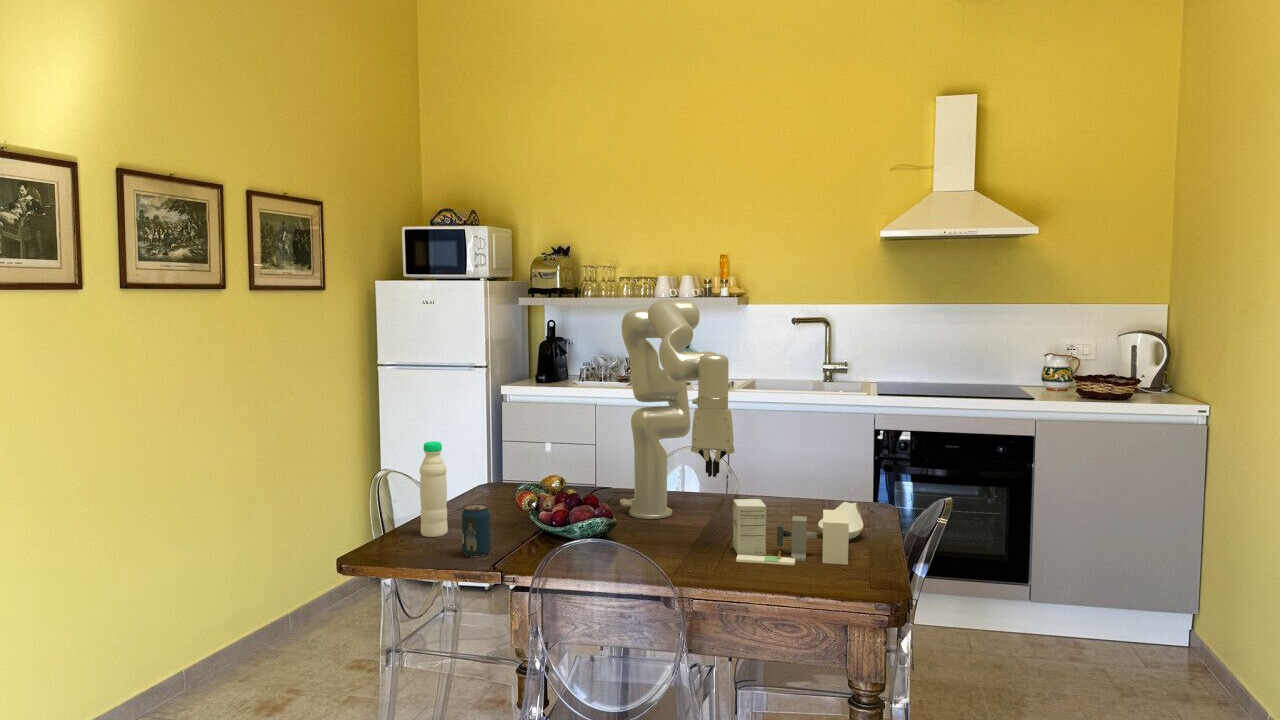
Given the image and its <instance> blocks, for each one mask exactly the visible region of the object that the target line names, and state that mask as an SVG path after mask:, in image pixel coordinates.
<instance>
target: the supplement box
mask: <svg viewBox="0 0 1280 720" xmlns="http://www.w3.org/2000/svg"><path fill="white" fill-rule="evenodd" d="M732 511H733V519H732V521H733V523H732V526H733V527H732V528H733V529H732V531H733V532H732V533H733V535H732V539H733V540H732V548H733V549H734V550H735V552H736V555H754V556H767V505H766V504H765V503H764V501H763V500H762V499H760V498H746V499H745V498H744V499H743V498H739V499H733V510H732Z"/></svg>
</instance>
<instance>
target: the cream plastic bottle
mask: <svg viewBox="0 0 1280 720" xmlns="http://www.w3.org/2000/svg"><path fill="white" fill-rule="evenodd" d="M442 449H443V446H442V442H440V441H435V440H433V441H427V442H424V443H423V451H424V452H423V453H424V454H425V456H424V458H423V460H422V463H421V465H420V467H419V474H420V478H419V479H420V481H419V496H420V507H421V508H420V521H421V522H420V534H421V535H422V536H423V537H426V538H438V537H443V536H445V535H447V533H448V530H449V529H448V528H449V527H448V520H447V519H448V508H447V505H448V504H447V502H448V486H447V485H448V484H447V466H446V464H445V461H444V459H443V458H442V456H441V452H442Z"/></svg>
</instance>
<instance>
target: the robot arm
mask: <svg viewBox="0 0 1280 720" xmlns="http://www.w3.org/2000/svg"><path fill="white" fill-rule="evenodd" d="M700 319H701V318H700V310H699V308H698V306H697V305H696V303H695V302H694V301H692V300H690V299H660V300H657V301H654V302H653V303H652V304H650V306H649V308H639V309H632V310H630V311H628V312H626V313H625V314H624V315H623V317H622V320H621V335H622V340H623V343H624V345H625V348H626V352H627V354H628V357H629V358H628V359H629V368H630V375H631V376H630V377H631V386H632V392H633V395H634V396H633V397H634V398H635V399H636V401H638V402H641V403H661V402H662V403H663V402H665V403H666V402H667V403H668V405H662V406H661V405H659V406H658V405H657V406H645V407H640V408H637V409H636V410H634V412H632V415H631V419H630V425H631V432H632V437H633V449H634V452H633V453H634V455H633V456H634V464H633V465H634V468H633V469H634V477H633V478H634V497H633V498H630V499H627V498H620V501H619V504H620V506H622V507H626V508H627V507H629V508H630V509H629V510H628V512H629V513H628V514H629V516H631V517H633V518H635V519H636V518H637V519H644V520H645V519H646V520H655V519H665V518H669V517H670V516H672V515H673V509H672V508H670V507H668V455H667V451H666V449H665V447H663V445H662V444H661V442H660V440H665V439H666V440H667V439H677V438H683V437H685V436H687V435H688V434H689V432H690V429H691V427H692V429H691V430H692V431H691V448H690V451H691V452H692V453H694V454H699V455H700V456H701V457H702V458H703V459H704V461H705V473H706V474H707V477H708V478H710V477H713V478H717V476H718V474H720V461H721V459H723V458H724V457H725V456H727V455H731V454H734V453H735V446H734V424H733V416H732V409H731V408H729V364H730V363H729V359H728V357H727V356H726V355H724V354H718V353H716V352H714V351H683V350H684V349H686V348H687V347H688V346H689V345H690V344H691V343H692V341H693V340H694V339H693V338H694V331H693V330H694V329H696V328H697V326H698V325H699V323H700ZM647 339H661V342H660V344H659V349H658V352H657V350H656V349H655V347H654V346H653V344H651V342H650V341H649V340H647ZM682 351H683V352H682ZM660 365H661V367H662V368H661V367H660ZM687 382H698V383H697V384H698V387H697V388H698V391H697V394H698V396H697V397H695V398H692V399H691V400H692V401H691V404H692V405H696V406H697V408H695V409H694V413H693V417H692V426H691V414H690V406H689V405H690V404H689V397H688V396H689V395H688V387H687ZM711 451H715V455H714V456H715V457H714V458H713V459H712V456H711Z"/></svg>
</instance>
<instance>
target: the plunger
mask: <svg viewBox="0 0 1280 720" xmlns="http://www.w3.org/2000/svg"><path fill="white" fill-rule="evenodd" d="M776 528H777V531H776V535H777V536H776V547H779V548H781V547H784V543H785V538H792V530H786V529H785V520H778V522H777V527H776ZM806 538H807V539H816V540H817V531H808V530H807V531H806ZM781 555H782V550H778V552H777V556H778V558H780V557H782V556H781Z"/></svg>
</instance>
